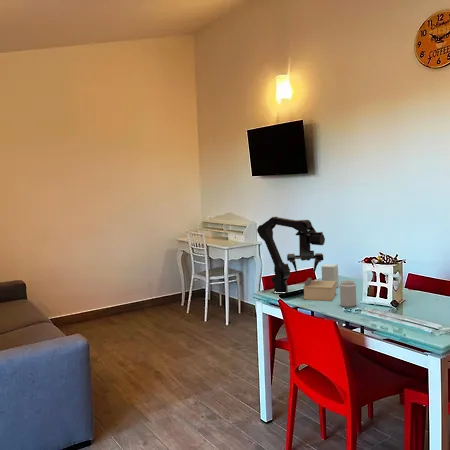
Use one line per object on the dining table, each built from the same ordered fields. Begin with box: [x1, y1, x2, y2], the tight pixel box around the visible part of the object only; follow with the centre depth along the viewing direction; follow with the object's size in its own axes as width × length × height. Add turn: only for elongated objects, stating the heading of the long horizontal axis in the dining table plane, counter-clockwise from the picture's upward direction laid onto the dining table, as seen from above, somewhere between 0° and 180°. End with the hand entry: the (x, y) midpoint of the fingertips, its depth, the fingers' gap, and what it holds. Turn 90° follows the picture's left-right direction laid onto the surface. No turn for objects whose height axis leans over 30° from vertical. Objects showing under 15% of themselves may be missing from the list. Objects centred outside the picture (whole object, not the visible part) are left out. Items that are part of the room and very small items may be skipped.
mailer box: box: [303, 283, 337, 302], centre depth 249 cm, size 14×14×6 cm
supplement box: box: [321, 263, 340, 289], centre depth 268 cm, size 7×7×13 cm
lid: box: [303, 277, 336, 289], centre depth 249 cm, size 14×14×3 cm
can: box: [339, 279, 357, 308], centre depth 230 cm, size 8×8×12 cm
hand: (305, 273), depth 252 cm, fingers open, 9 cm apart
